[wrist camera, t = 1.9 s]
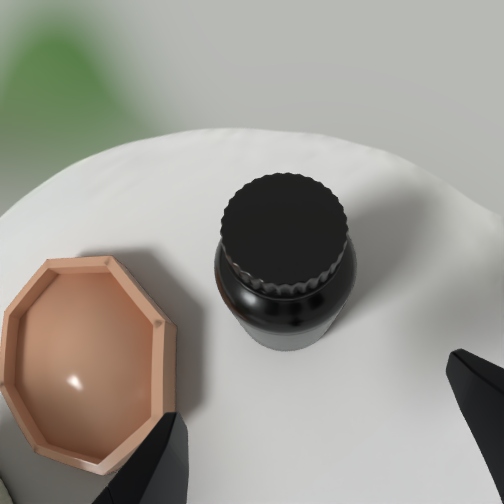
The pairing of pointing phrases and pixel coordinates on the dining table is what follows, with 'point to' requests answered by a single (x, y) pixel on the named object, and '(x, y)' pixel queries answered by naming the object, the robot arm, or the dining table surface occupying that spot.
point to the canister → (4, 494)
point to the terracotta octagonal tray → (87, 362)
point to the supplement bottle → (285, 260)
